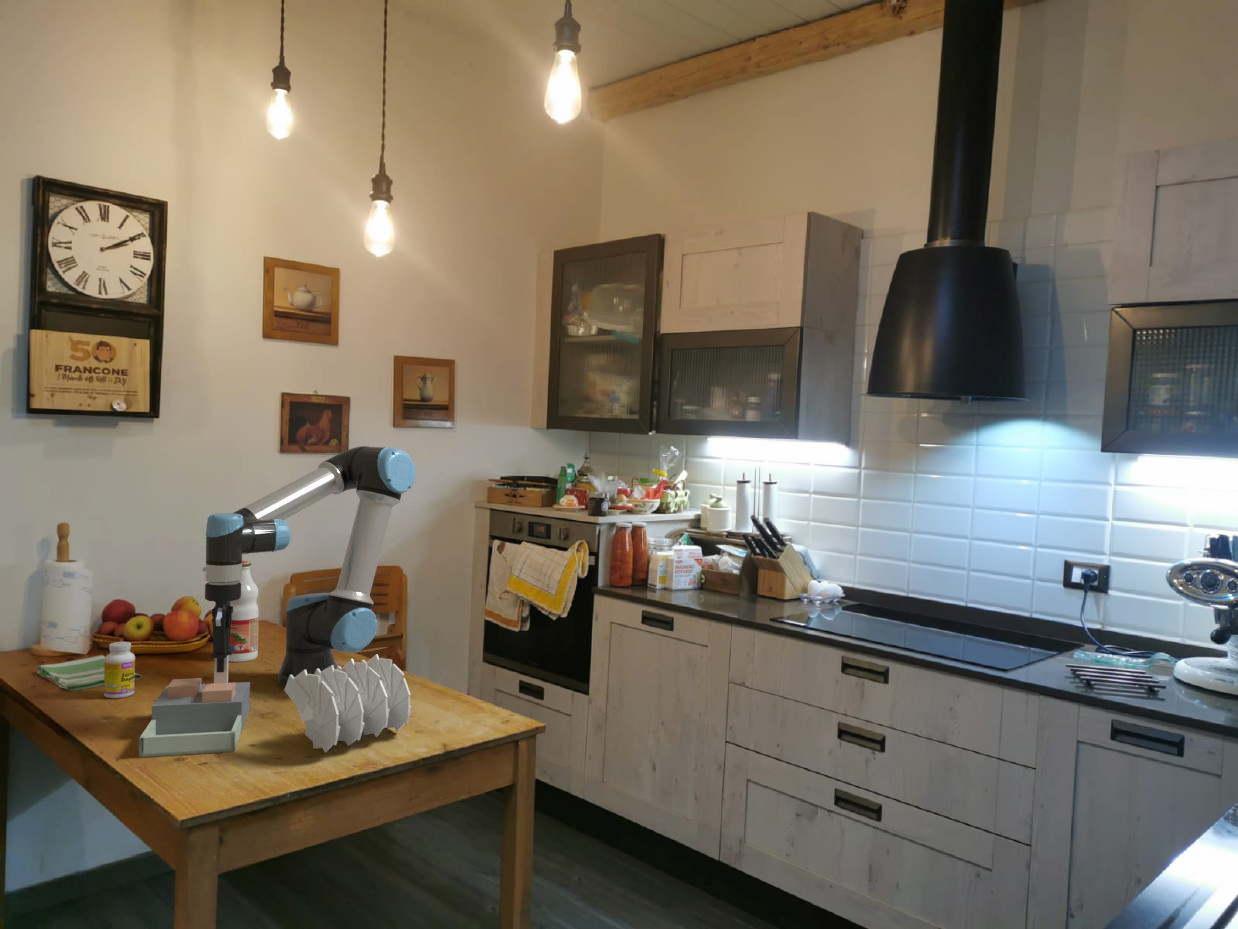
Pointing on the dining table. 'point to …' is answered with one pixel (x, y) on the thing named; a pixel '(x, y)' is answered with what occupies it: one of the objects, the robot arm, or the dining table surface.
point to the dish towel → (77, 673)
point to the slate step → (200, 712)
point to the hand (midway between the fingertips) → (220, 685)
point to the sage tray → (188, 741)
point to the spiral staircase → (350, 700)
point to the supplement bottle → (119, 671)
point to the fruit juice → (245, 620)
